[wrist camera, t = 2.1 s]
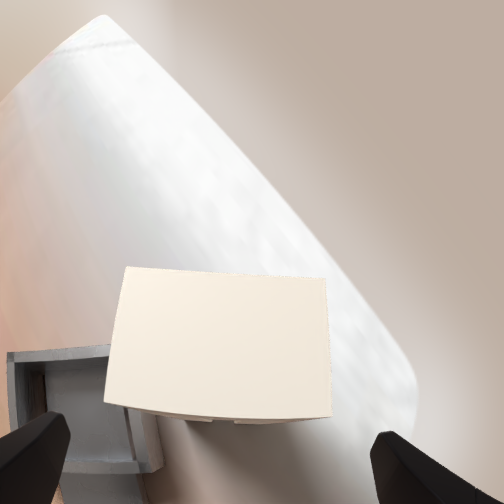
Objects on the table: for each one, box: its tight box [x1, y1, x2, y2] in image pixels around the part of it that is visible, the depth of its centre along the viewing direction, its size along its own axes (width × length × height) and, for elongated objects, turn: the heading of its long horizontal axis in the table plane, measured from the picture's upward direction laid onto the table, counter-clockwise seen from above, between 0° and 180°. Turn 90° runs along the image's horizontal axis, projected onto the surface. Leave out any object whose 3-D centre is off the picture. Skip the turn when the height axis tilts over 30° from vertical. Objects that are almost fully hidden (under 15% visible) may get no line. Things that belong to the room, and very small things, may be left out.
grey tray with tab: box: [7, 344, 165, 504], centre depth 12 cm, size 16×8×3 cm, turn 13°
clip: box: [104, 266, 332, 424], centre depth 11 cm, size 3×4×12 cm
